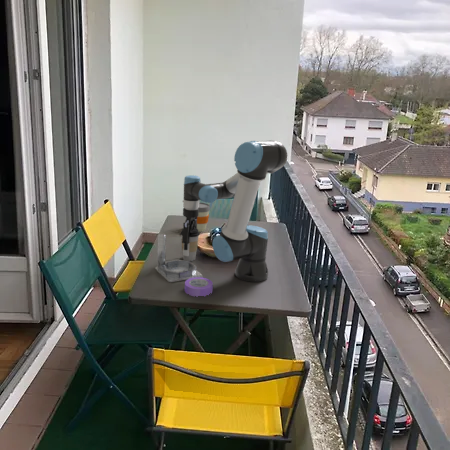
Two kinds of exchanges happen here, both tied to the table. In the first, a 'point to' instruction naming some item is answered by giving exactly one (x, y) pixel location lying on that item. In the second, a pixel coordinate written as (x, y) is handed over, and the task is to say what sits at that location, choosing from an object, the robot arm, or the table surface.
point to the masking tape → (198, 286)
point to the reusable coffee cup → (203, 216)
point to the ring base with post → (174, 265)
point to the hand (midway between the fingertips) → (189, 252)
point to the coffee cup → (191, 244)
